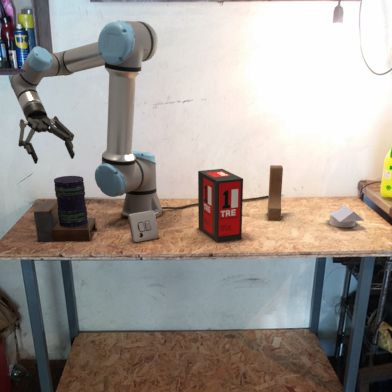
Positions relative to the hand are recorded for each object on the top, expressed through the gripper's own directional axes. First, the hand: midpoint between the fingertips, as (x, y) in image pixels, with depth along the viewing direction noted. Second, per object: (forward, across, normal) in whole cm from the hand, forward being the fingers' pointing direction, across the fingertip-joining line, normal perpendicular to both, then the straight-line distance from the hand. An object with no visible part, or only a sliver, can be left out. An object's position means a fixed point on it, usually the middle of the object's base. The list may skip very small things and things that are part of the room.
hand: (55, 158), depth 200 cm
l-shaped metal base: (+26, +4, -6) cm, 27 cm away
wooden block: (+45, -67, +12) cm, 82 cm away
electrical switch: (+40, -14, +8) cm, 43 cm away
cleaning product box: (+48, -38, +16) cm, 63 cm away
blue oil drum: (+25, +2, -2) cm, 25 cm away
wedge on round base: (+61, -80, +29) cm, 105 cm away
